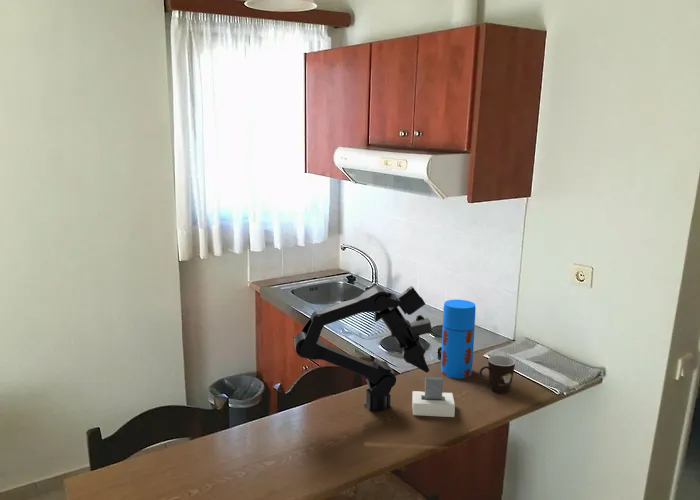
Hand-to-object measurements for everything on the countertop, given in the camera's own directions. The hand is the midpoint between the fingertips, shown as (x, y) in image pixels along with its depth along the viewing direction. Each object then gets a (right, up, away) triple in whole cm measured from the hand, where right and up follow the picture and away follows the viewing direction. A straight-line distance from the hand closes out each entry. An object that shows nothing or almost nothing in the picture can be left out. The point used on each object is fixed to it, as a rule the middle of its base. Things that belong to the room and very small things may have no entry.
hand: (425, 365), depth 167 cm
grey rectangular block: (+2, -13, +1) cm, 14 cm away
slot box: (+2, -14, +1) cm, 14 cm away
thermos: (+15, -9, +30) cm, 35 cm away
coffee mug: (+25, -11, +17) cm, 32 cm away
